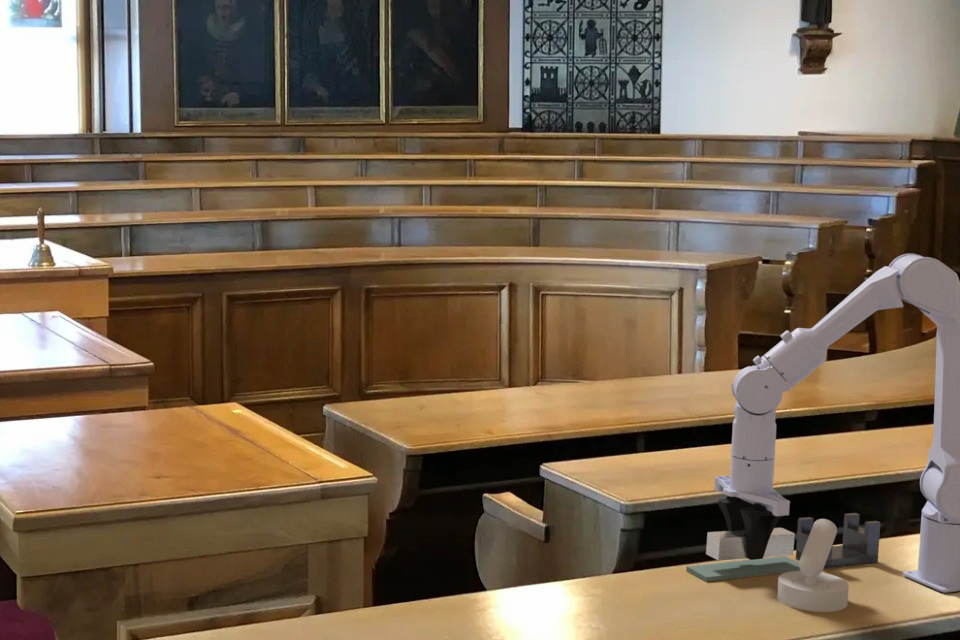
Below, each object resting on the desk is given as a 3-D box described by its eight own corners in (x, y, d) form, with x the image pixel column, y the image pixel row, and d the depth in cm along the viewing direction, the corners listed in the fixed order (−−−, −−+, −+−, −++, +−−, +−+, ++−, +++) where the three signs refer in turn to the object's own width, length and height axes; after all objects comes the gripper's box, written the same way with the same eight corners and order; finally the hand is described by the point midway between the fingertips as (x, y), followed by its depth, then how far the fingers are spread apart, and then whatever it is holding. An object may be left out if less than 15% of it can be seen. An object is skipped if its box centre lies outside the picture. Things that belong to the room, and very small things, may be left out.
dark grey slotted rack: (853, 552, 183) (855, 512, 182) (877, 562, 178) (880, 522, 177) (795, 558, 179) (798, 518, 178) (819, 569, 174) (821, 528, 174)
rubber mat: (784, 560, 178) (785, 556, 178) (806, 570, 174) (806, 566, 174) (686, 570, 172) (686, 566, 172) (706, 581, 167) (706, 577, 167)
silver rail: (779, 548, 176) (781, 527, 176) (793, 555, 174) (794, 533, 173) (705, 554, 172) (707, 532, 171) (718, 560, 169) (720, 538, 169)
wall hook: (860, 521, 163) (844, 540, 154) (856, 594, 164) (839, 616, 155) (793, 512, 167) (773, 529, 158) (789, 582, 168) (769, 604, 159)
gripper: (697, 446, 176) (693, 542, 178) (759, 470, 163) (754, 573, 164) (740, 443, 179) (736, 538, 180) (805, 466, 165) (799, 568, 167)
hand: (747, 554), depth 172 cm, fingers closed on silver rail, 3 cm apart
